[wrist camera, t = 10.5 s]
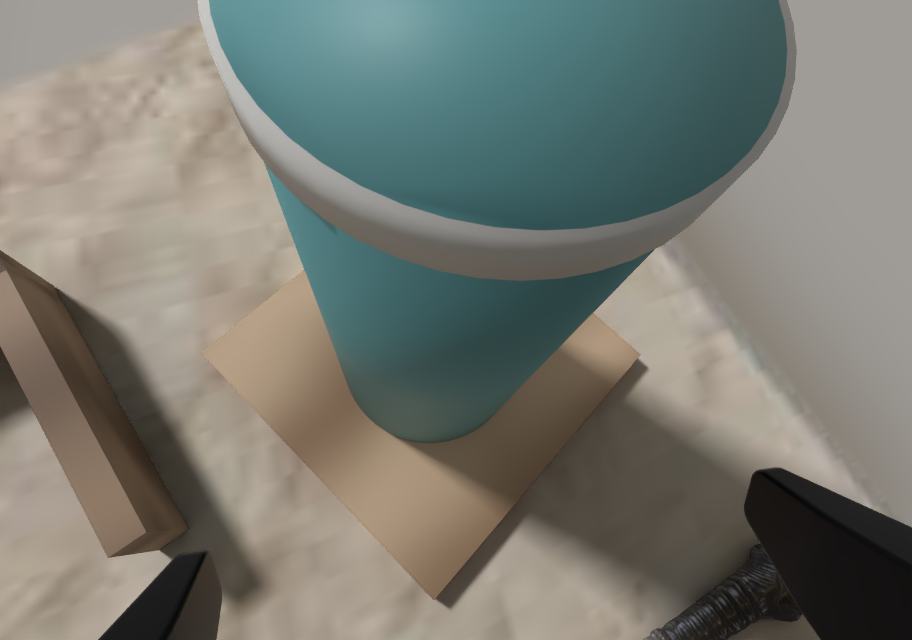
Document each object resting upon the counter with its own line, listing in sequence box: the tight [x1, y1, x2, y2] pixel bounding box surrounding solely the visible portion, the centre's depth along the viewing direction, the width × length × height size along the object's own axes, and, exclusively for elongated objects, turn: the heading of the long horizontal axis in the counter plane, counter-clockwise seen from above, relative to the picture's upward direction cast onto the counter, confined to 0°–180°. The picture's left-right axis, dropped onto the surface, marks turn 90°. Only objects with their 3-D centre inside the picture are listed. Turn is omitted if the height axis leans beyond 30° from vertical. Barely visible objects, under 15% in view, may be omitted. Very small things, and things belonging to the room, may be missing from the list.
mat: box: [202, 270, 641, 600], centre depth 19 cm, size 11×11×1 cm
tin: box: [198, 0, 796, 443], centre depth 12 cm, size 6×6×14 cm
